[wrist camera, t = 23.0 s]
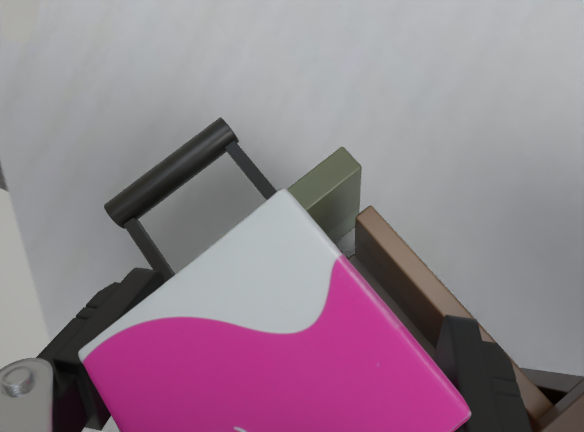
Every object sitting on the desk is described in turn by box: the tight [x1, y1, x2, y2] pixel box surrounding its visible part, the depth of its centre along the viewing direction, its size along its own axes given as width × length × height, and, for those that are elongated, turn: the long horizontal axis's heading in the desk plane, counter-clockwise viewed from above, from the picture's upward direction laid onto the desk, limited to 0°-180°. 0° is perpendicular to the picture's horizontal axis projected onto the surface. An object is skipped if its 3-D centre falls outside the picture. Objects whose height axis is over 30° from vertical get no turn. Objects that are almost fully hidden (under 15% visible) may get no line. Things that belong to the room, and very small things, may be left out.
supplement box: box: [78, 189, 471, 432], centre depth 14 cm, size 6×6×12 cm
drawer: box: [104, 117, 554, 426], centre depth 19 cm, size 22×12×8 cm, turn 38°
